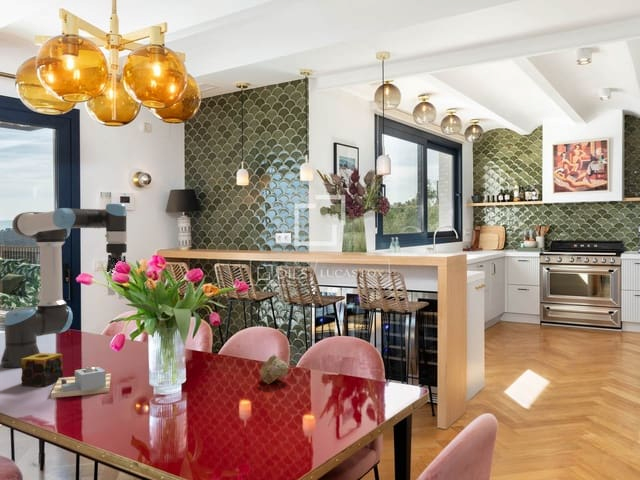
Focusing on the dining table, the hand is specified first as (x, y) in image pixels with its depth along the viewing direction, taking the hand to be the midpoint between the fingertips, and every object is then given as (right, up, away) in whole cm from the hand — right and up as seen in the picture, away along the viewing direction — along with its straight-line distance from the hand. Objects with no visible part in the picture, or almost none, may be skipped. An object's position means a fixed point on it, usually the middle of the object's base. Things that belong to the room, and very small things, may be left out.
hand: (117, 296), depth 212 cm
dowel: (-8, -29, -26) cm, 40 cm away
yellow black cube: (-23, -31, -13) cm, 40 cm away
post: (0, -29, -24) cm, 37 cm away
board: (-5, -30, -19) cm, 36 cm away
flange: (-2, -29, -26) cm, 39 cm away
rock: (+62, -30, -15) cm, 71 cm away
